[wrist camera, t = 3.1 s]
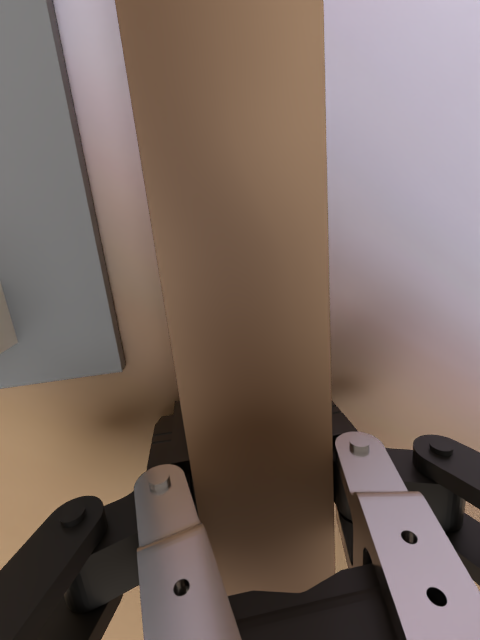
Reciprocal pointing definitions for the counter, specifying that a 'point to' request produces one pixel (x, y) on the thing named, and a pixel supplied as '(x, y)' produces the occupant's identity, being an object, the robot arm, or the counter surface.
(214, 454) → the push bar
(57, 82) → the mat
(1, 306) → the tile
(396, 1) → the counter surface
